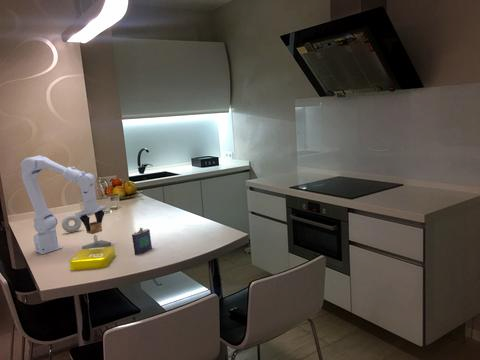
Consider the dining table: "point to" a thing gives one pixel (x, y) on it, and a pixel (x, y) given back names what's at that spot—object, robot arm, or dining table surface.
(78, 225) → the donut
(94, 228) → the wooden square ring
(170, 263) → the dining table surface
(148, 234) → the flask
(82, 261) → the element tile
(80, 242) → the dining table surface
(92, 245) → the rod stand
